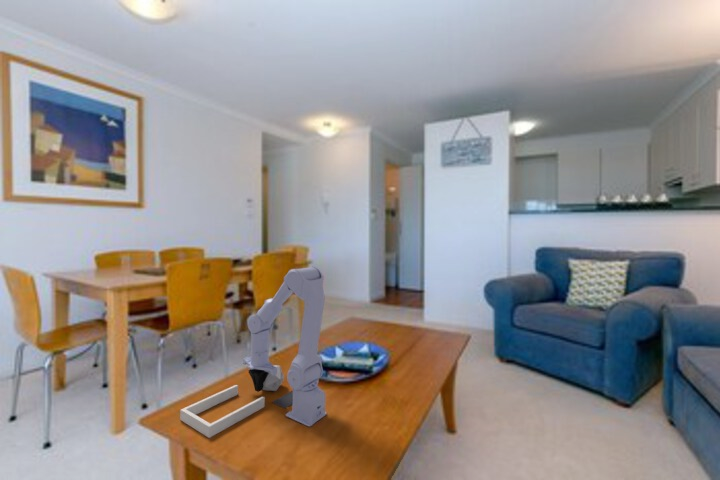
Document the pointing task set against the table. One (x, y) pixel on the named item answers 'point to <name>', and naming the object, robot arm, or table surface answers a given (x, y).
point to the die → (274, 380)
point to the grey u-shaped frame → (211, 429)
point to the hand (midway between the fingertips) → (259, 390)
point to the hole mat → (285, 400)
